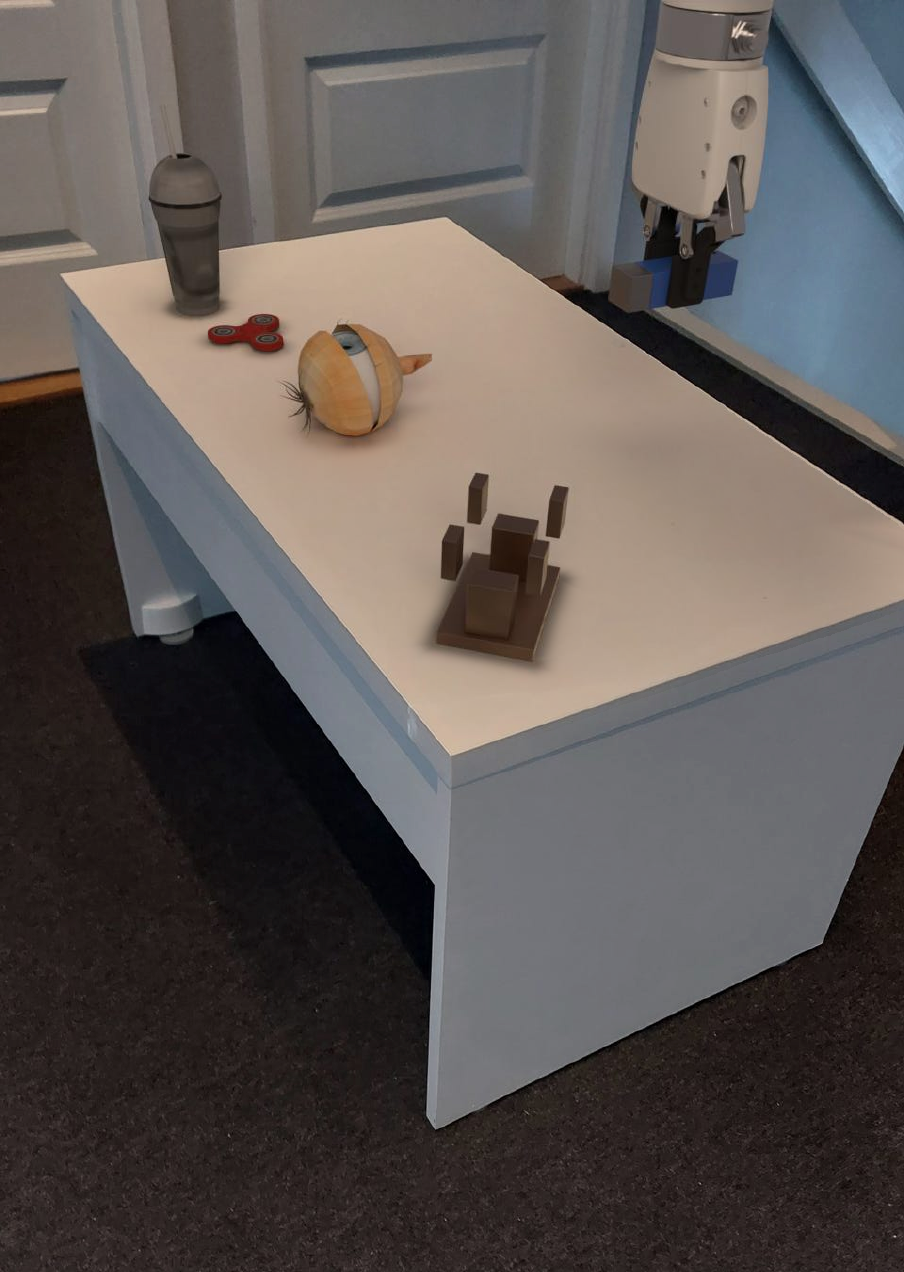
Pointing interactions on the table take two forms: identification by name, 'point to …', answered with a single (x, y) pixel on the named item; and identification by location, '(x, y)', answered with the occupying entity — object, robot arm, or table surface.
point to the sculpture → (351, 379)
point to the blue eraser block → (664, 282)
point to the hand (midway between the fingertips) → (670, 295)
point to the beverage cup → (188, 227)
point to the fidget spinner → (250, 333)
